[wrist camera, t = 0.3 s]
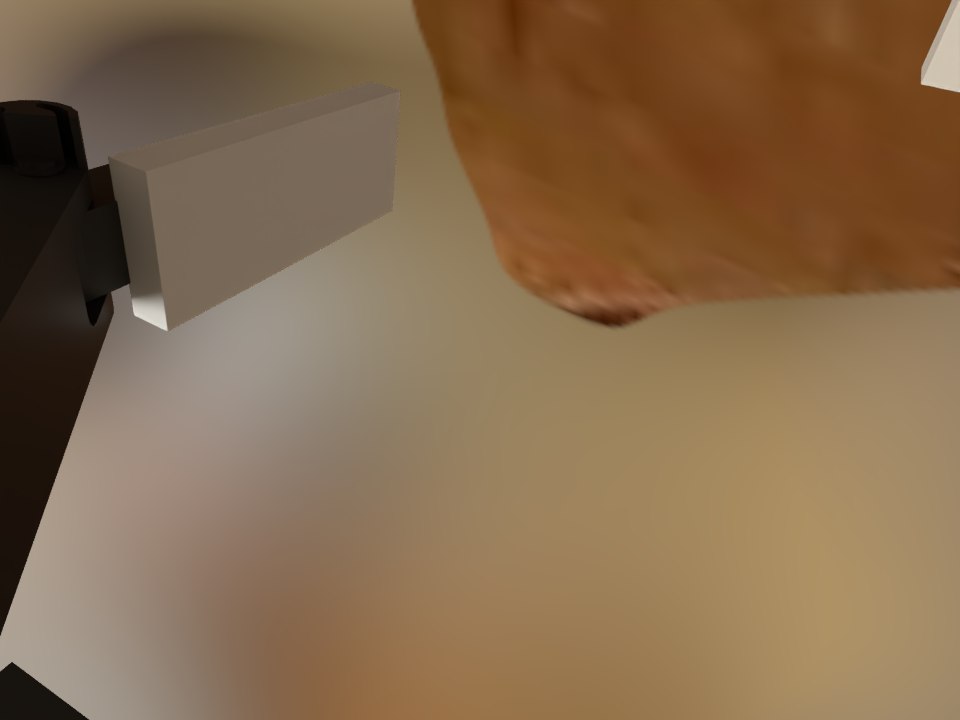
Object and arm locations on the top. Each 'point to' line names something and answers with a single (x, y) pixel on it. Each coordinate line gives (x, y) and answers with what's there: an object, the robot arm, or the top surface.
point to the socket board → (945, 53)
